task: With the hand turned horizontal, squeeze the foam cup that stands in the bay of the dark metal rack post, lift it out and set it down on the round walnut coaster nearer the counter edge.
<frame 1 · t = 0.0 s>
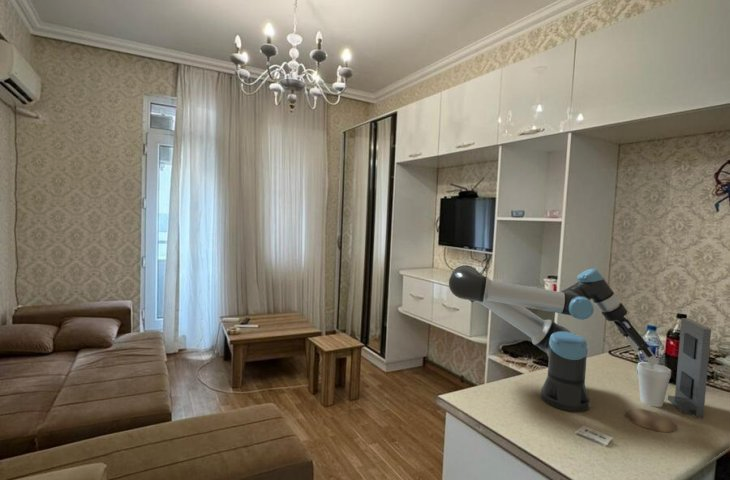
hand: (646, 357, 137), 15 cm above the table, tool tilted 35°, fingers open, 13 cm apart
foam cup: (651, 403, 134), on the table
rack post: (688, 407, 131), on the table
coaster: (649, 420, 122), on the table
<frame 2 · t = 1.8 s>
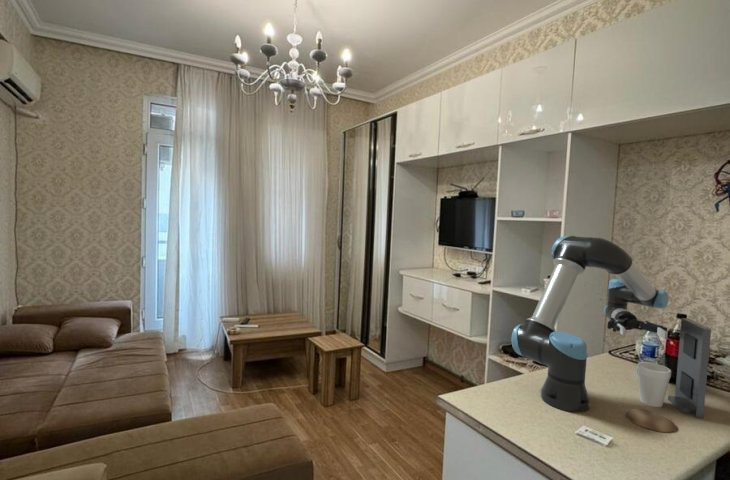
hand: (644, 333, 142), 22 cm above the table, tool horizontal, fingers open, 13 cm apart
nothing on the table moved.
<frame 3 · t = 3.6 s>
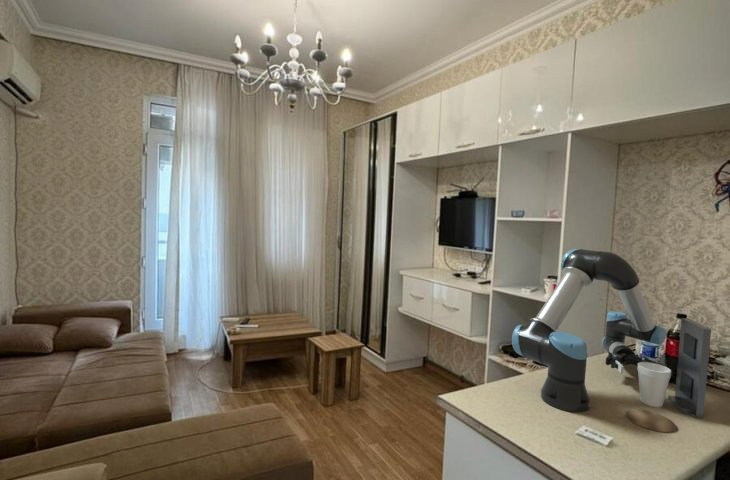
hand: (643, 372, 142), 7 cm above the table, tool horizontal, fingers open, 13 cm apart
nothing on the table moved.
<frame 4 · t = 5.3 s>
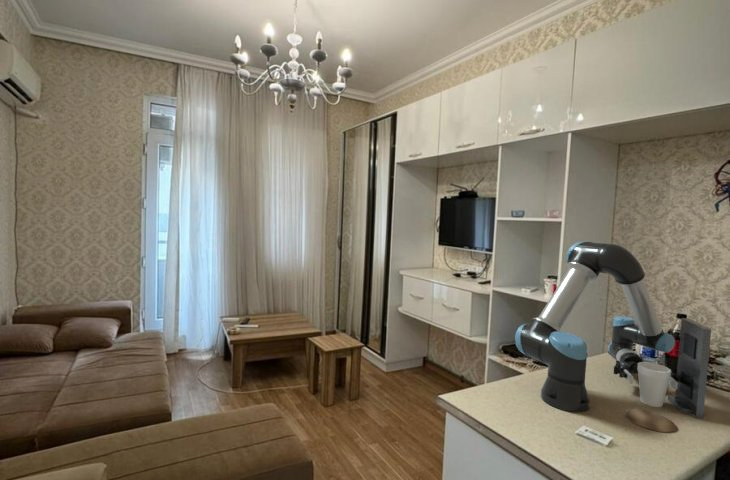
hand: (653, 383, 133), 7 cm above the table, tool horizontal, fingers open, 13 cm apart
nothing on the table moved.
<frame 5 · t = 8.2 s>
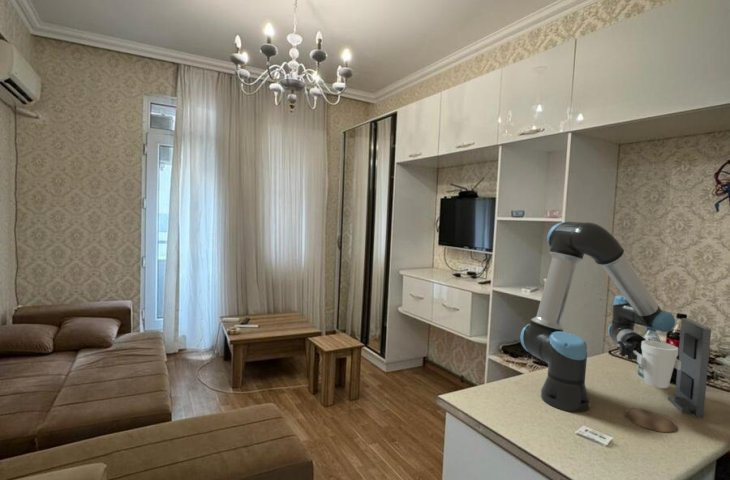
hand: (660, 363, 121), 19 cm above the table, tool horizontal, fingers closed on foam cup, 9 cm apart
foam cup: (655, 384, 123), point 11 cm above the table, touching gripper
when the fingers open (9 cm above the table, at t = 10.8 s): foam cup drops 1 cm, resting on coaster.
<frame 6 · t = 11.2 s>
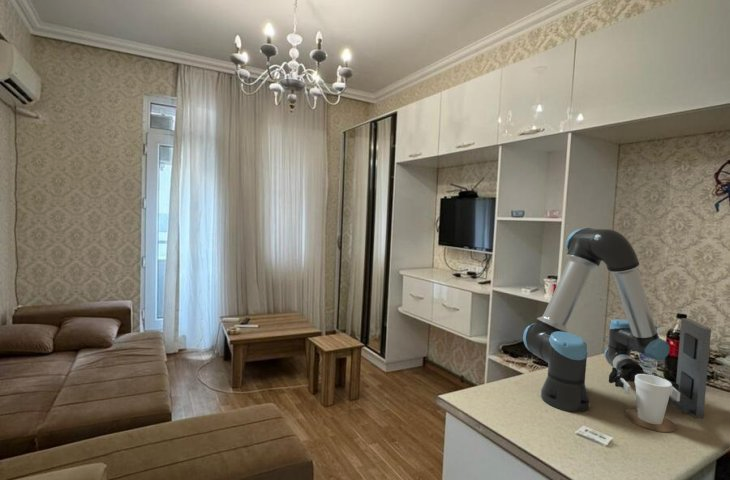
hand: (653, 393, 120), 9 cm above the table, tool horizontal, fingers open, 13 cm apart
foam cup: (649, 419, 122), resting on coaster
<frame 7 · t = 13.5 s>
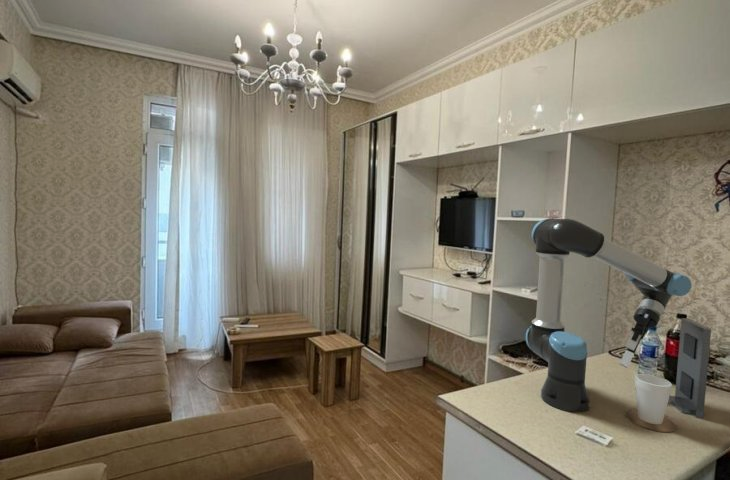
hand: (626, 357, 135), 16 cm above the table, tool tilted 50°, fingers open, 13 cm apart
nothing on the table moved.
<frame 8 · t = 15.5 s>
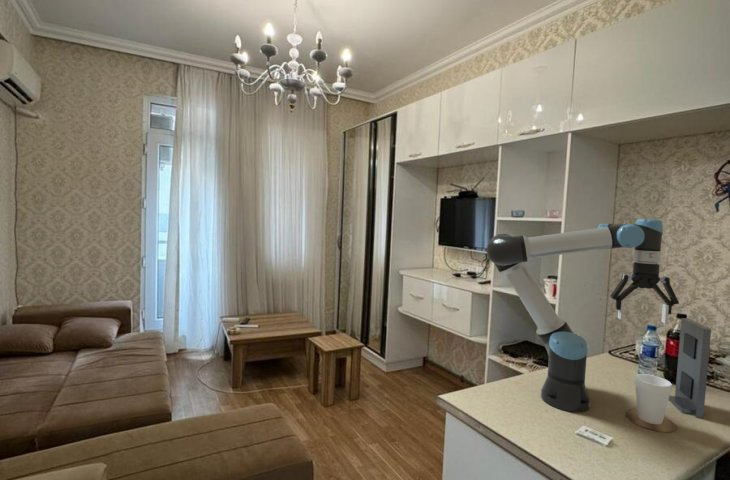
hand: (641, 320, 135), 29 cm above the table, tool pointing down, fingers open, 13 cm apart
nothing on the table moved.
at the end: foam cup inside the target area on the coaster (0.0 cm from its centre), point 0.4 cm above the coaster's base; foam cup tilted 0°; the gripper is holding nothing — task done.
